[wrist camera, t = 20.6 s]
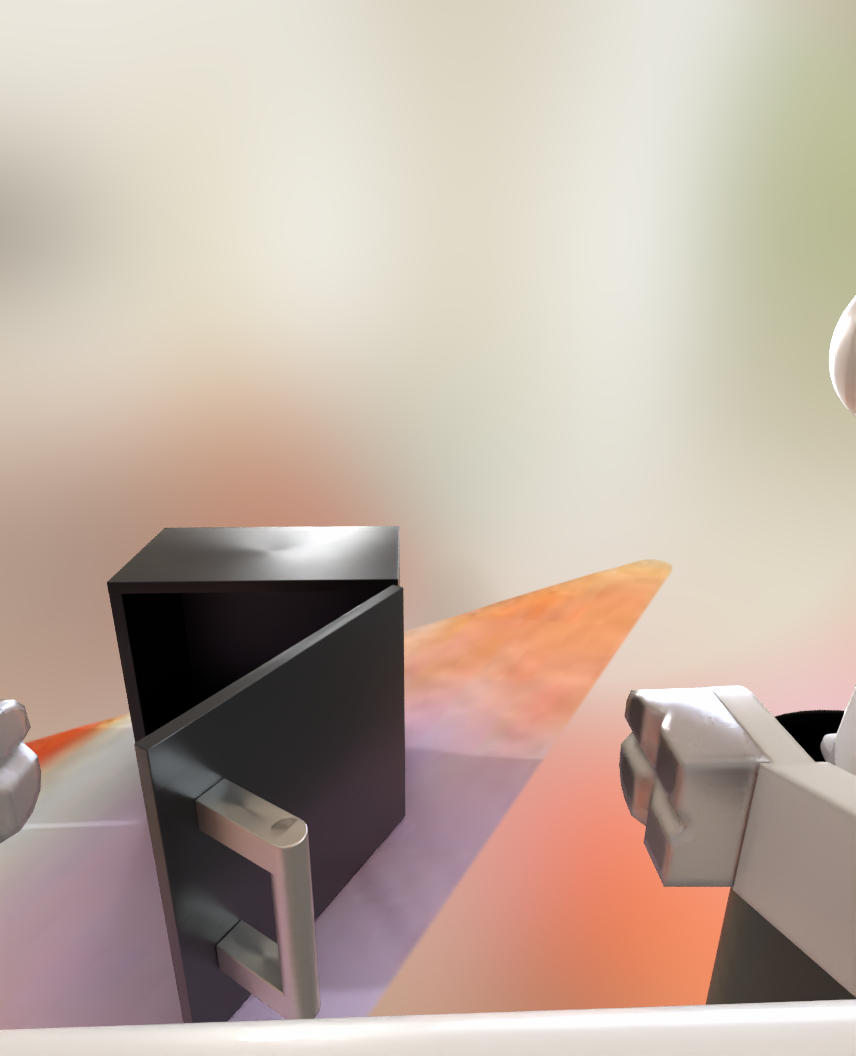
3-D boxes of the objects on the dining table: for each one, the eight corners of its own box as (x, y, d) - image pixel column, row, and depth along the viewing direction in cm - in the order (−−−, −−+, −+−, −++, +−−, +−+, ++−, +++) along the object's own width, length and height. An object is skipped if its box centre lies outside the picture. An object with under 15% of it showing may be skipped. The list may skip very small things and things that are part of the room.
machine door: (473, 848, 42) (482, 608, 36) (281, 1128, 27) (245, 805, 22) (396, 811, 45) (392, 584, 39) (187, 1046, 30) (133, 743, 25)
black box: (400, 808, 45) (398, 579, 39) (147, 814, 44) (106, 582, 39) (401, 720, 54) (399, 525, 49) (192, 724, 54) (164, 527, 48)
